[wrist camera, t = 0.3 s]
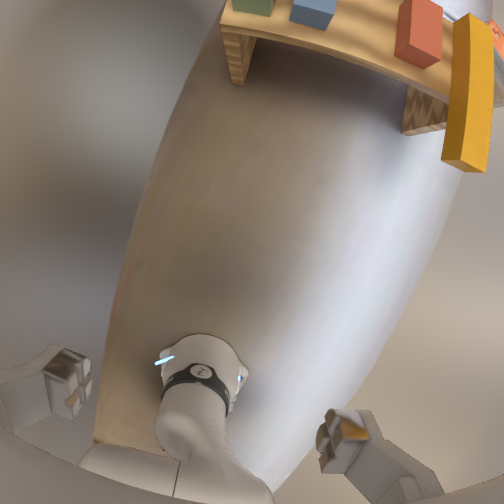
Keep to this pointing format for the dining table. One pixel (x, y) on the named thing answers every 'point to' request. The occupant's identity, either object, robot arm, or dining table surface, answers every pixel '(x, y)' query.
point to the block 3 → (419, 33)
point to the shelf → (351, 51)
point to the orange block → (470, 96)
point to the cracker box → (498, 64)
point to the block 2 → (313, 12)
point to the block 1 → (254, 6)
